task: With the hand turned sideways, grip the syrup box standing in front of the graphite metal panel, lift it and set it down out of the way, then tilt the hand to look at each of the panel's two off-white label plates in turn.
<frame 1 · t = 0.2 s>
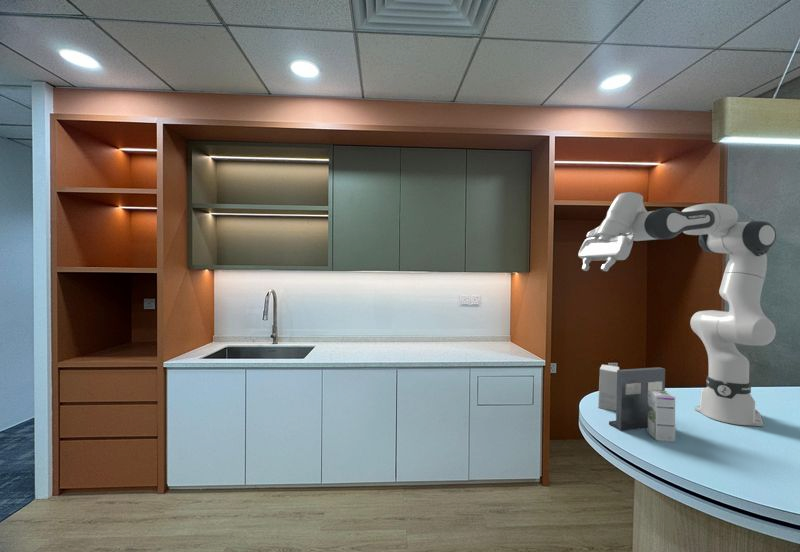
hand: (593, 270, 122), 54 cm above the worktop, tool tilted 30°, fingers open, 8 cm apart
label panel: (640, 427, 123), on the worktop
syrup box: (660, 437, 116), on the worktop
skincare box: (608, 407, 141), on the worktop
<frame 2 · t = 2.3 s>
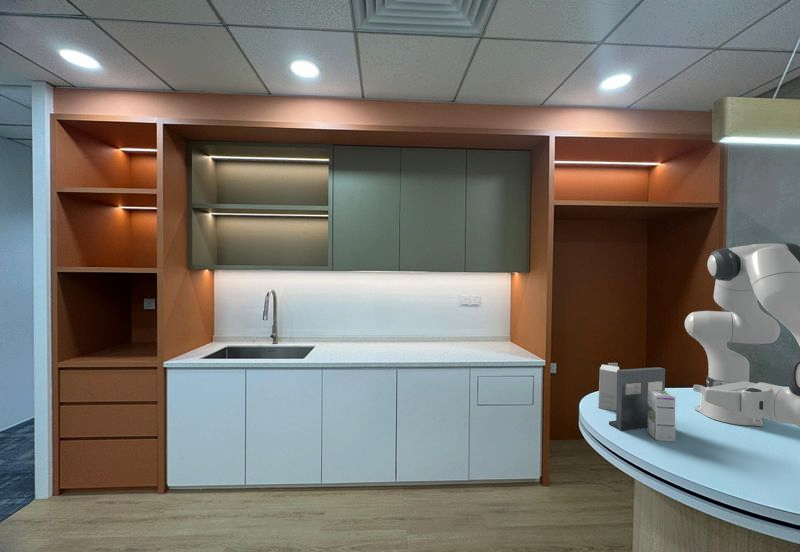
hand: (704, 385, 104), 20 cm above the worktop, tool horizontal, fingers open, 8 cm apart
nothing on the worktop moved.
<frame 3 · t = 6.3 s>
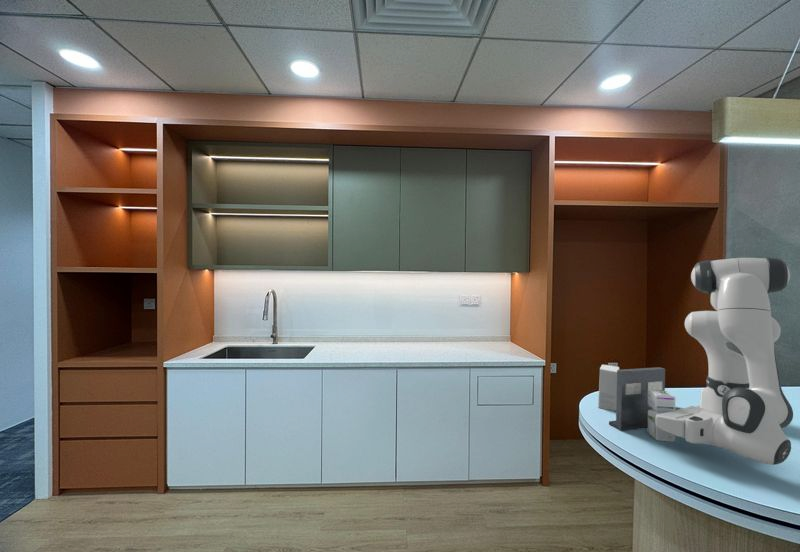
hand: (658, 410, 116), 9 cm above the worktop, tool horizontal, fingers closed on syrup box, 8 cm apart
syrup box: (660, 437, 116), on the worktop, touching gripper
everything else where it was.
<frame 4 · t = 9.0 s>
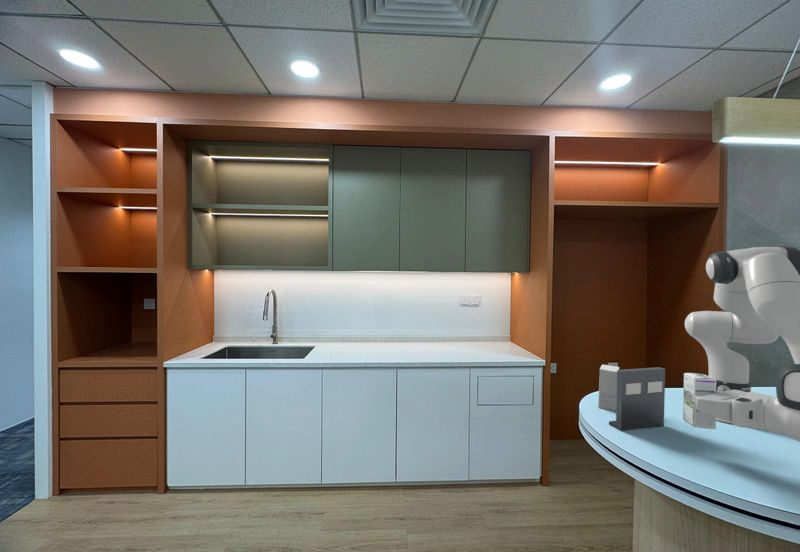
hand: (696, 393, 106), 17 cm above the worktop, tool horizontal, fingers closed on syrup box, 8 cm apart
syrup box: (698, 425, 105), point 8 cm above the worktop, touching gripper
everything else where it was.
when the fingers open (10 cm above the worktop, at t = 11.7 s): syrup box moves 1 cm, on the worktop.
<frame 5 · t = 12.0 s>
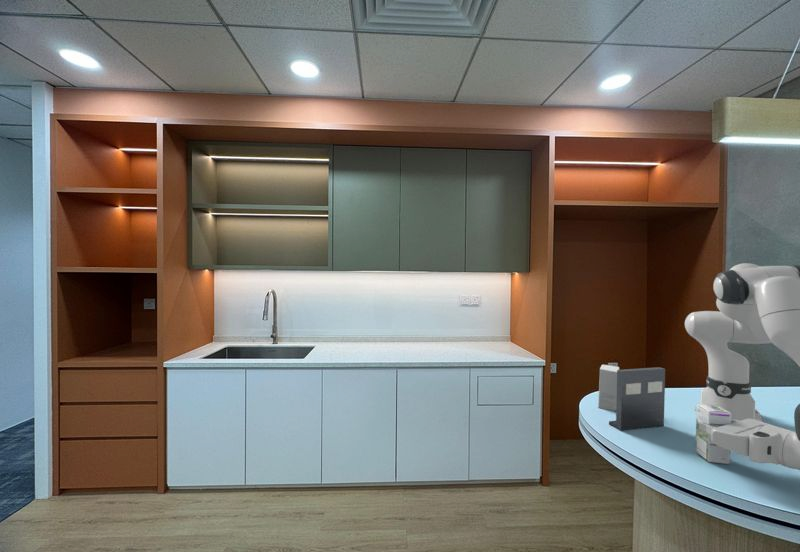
hand: (709, 422, 103), 10 cm above the worktop, tool horizontal, fingers open, 8 cm apart
syrup box: (711, 458, 102), on the worktop, touching gripper
everything else where it was.
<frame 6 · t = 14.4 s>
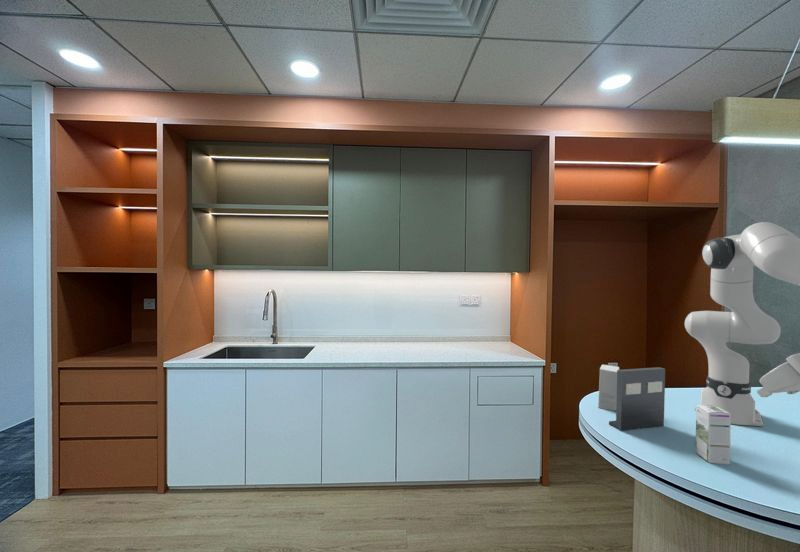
hand: (774, 393, 91), 23 cm above the worktop, tool tilted 45°, fingers open, 8 cm apart
syrup box: (712, 459, 102), on the worktop
everything else where it was.
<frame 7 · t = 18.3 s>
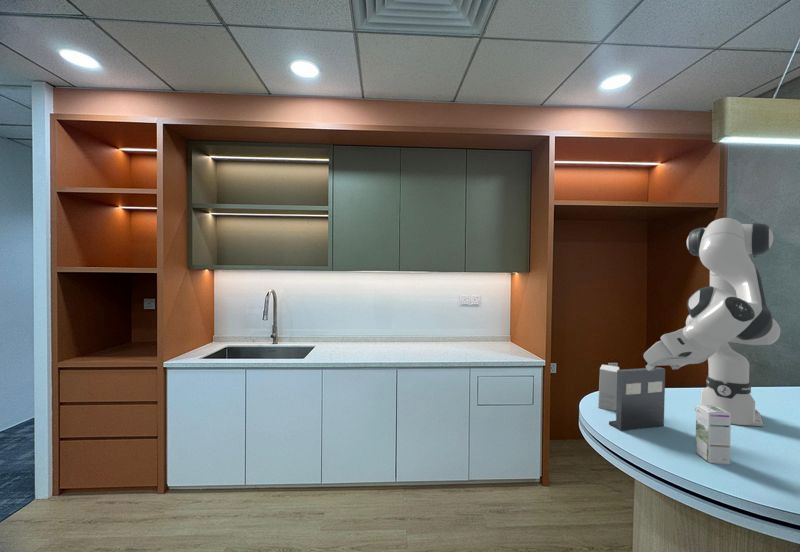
hand: (660, 368, 111), 24 cm above the worktop, tool tilted 45°, fingers open, 8 cm apart
nothing on the worktop moved.
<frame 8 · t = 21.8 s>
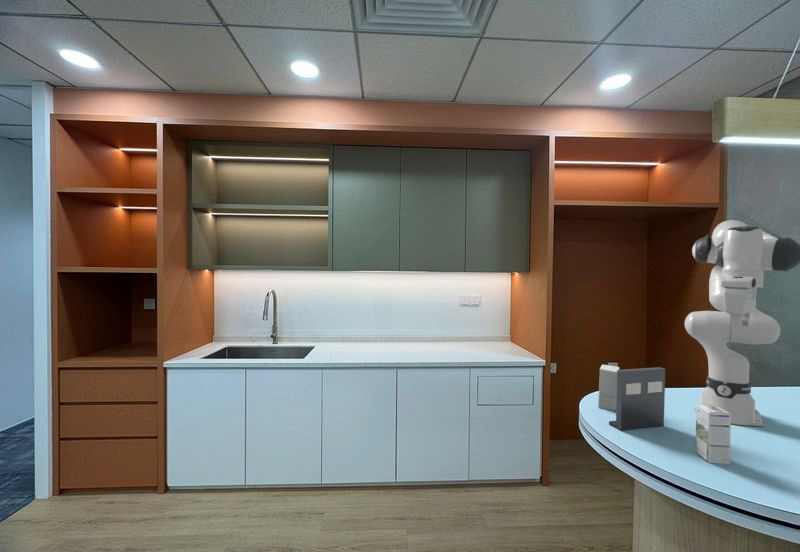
hand: (740, 327, 106), 37 cm above the worktop, tool pointing down, fingers open, 8 cm apart
nothing on the worktop moved.
at the end: syrup box inside the target area (0.4 cm from its centre), on the worktop; syrup box tilted 0°; the gripper is holding nothing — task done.
